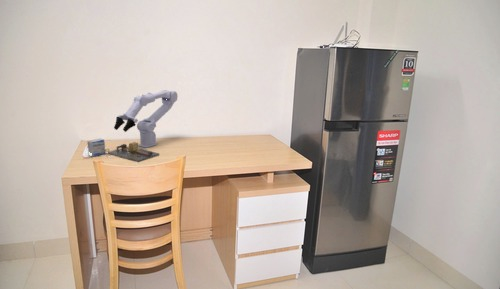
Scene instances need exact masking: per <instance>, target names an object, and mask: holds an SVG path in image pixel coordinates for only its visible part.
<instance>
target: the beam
mask: <svg viewBox="0 0 500 289" xmlns="http://www.w3.org/2000/svg"><path fill="white" fill-rule="evenodd" d="M127 147H128V146H127V144H126V143H123V144H121V145H118V146H116V150H117V151H119V150H118V149H122V150H126V151H127ZM128 151H130V150H128ZM150 151H151V150H150ZM130 152H134V153H138V154H142V155H146V156H152V152H153V151H151V152H148V153H145V152H141V151H137V150H135V151H130Z"/></svg>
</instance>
